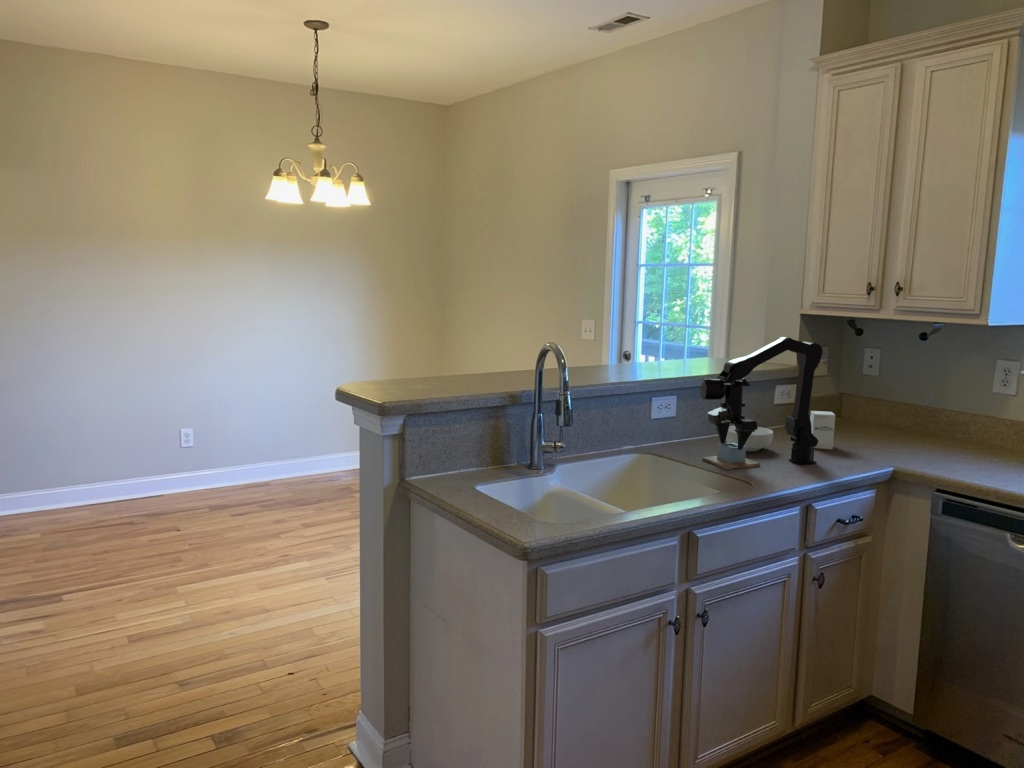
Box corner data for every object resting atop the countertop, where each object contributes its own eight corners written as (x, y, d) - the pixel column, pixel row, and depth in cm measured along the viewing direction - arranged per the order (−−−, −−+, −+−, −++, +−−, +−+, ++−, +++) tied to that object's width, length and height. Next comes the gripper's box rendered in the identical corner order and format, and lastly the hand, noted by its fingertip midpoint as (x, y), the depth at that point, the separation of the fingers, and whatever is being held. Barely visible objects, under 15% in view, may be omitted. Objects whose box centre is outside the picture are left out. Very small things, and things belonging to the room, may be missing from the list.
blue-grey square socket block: (716, 458, 249) (717, 443, 249) (733, 457, 251) (733, 442, 251) (728, 463, 243) (729, 448, 243) (745, 461, 245) (746, 446, 245)
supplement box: (811, 448, 269) (813, 413, 267) (808, 444, 276) (810, 410, 274) (833, 449, 267) (835, 414, 266) (829, 445, 275) (832, 411, 273)
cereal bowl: (775, 455, 258) (776, 435, 257) (725, 453, 262) (726, 433, 261) (769, 444, 275) (770, 425, 274) (721, 442, 278) (722, 423, 277)
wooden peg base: (735, 457, 256) (735, 441, 255) (759, 466, 244) (760, 449, 243) (702, 460, 251) (702, 444, 251) (726, 469, 239) (726, 452, 238)
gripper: (695, 396, 250) (693, 442, 253) (730, 405, 233) (727, 455, 235) (724, 394, 254) (721, 440, 256) (760, 403, 237) (757, 452, 239)
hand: (731, 446), depth 247 cm, fingers open, 9 cm apart
